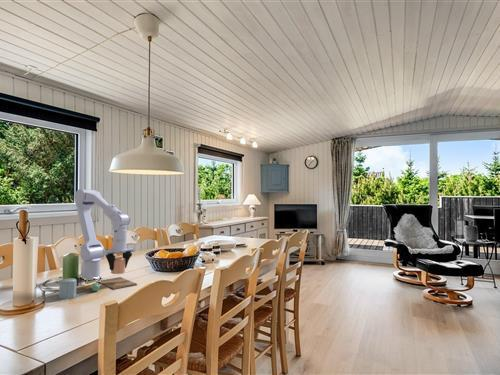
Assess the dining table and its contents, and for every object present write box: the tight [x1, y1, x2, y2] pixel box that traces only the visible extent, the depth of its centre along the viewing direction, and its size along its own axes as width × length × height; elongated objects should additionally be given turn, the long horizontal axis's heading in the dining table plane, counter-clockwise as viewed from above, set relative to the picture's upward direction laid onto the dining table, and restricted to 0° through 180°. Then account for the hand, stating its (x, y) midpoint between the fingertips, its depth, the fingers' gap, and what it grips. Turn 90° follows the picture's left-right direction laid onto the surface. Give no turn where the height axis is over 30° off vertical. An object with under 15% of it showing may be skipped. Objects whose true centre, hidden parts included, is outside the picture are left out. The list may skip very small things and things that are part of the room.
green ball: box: [91, 283, 101, 292], centre depth 134 cm, size 3×3×3 cm
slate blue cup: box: [58, 277, 78, 300], centre depth 126 cm, size 6×6×7 cm
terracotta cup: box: [110, 256, 126, 275], centre depth 147 cm, size 6×6×7 cm
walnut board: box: [99, 276, 138, 291], centre depth 146 cm, size 16×11×1 cm
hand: (118, 268), depth 147 cm, fingers closed on terracotta cup, 6 cm apart
